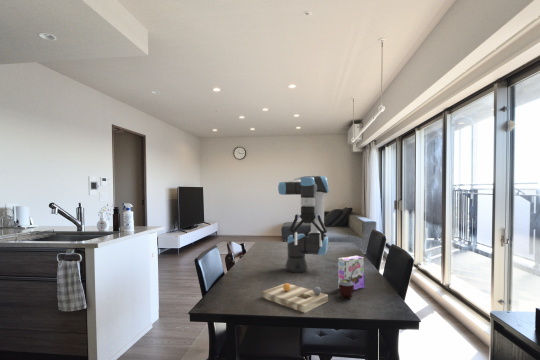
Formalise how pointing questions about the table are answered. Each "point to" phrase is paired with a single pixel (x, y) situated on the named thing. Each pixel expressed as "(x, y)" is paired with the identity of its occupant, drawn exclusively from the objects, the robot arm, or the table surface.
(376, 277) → the table surface
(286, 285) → the orange ball
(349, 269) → the candy box
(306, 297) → the deck
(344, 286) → the mate gourd
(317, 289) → the grey ball
